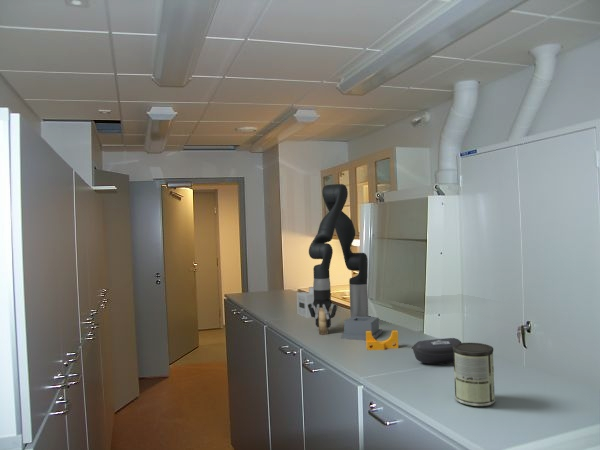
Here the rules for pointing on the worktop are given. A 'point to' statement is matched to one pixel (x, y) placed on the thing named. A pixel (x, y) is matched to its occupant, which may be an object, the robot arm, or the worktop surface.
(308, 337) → the worktop surface
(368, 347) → the pipe clamp
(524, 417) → the worktop surface
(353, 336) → the socket block
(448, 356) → the glasses case
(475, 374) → the coffee can
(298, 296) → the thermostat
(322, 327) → the oak peg
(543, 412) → the worktop surface
